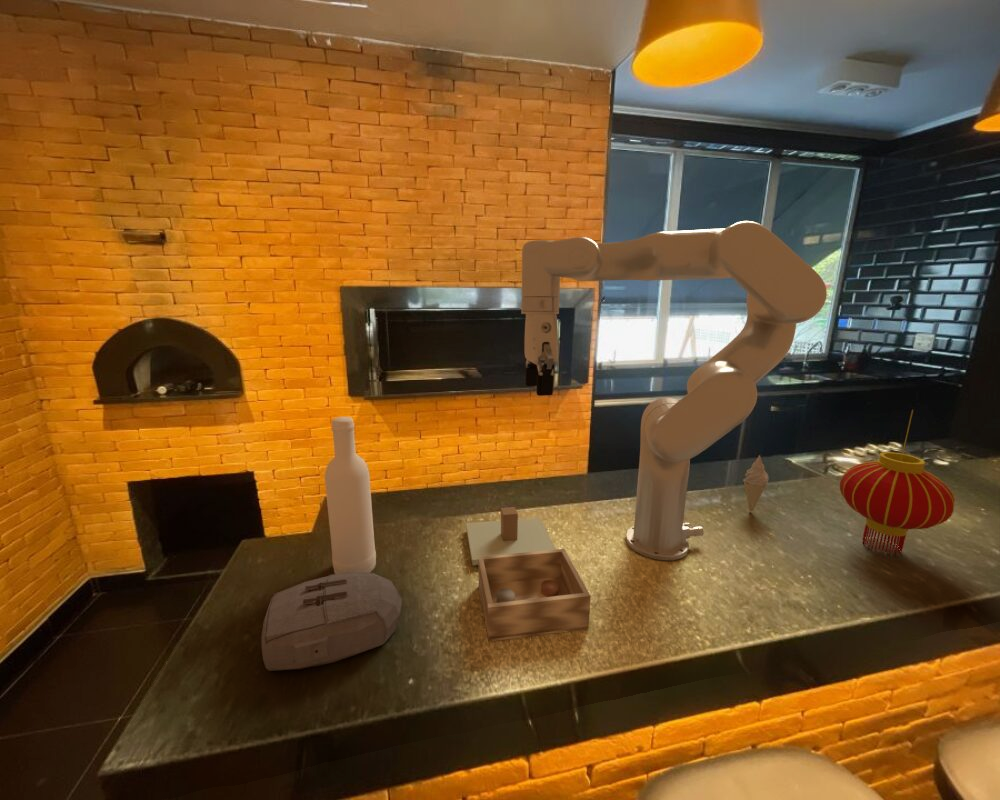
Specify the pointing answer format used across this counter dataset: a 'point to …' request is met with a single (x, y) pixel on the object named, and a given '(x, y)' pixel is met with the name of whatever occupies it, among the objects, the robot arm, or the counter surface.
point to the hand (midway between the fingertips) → (538, 390)
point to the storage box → (532, 594)
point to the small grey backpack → (328, 620)
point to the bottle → (349, 503)
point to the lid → (507, 536)
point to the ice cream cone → (755, 483)
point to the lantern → (896, 496)
